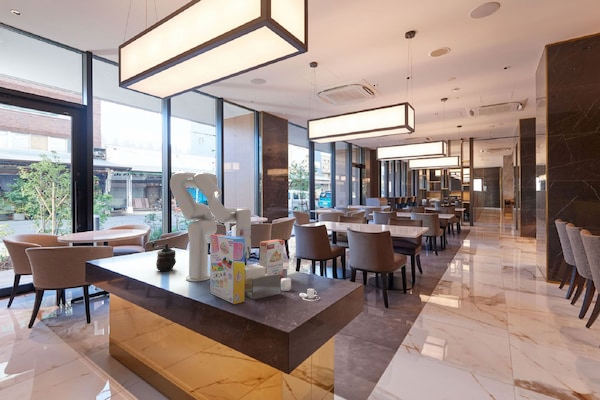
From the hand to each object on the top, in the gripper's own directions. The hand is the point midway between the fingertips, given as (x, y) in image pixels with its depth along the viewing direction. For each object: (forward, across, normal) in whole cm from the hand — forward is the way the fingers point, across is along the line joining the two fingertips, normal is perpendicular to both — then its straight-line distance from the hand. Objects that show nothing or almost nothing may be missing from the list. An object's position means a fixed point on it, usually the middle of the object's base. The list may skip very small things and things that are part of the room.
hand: (243, 268), depth 152 cm
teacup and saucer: (+9, +34, +16) cm, 38 cm away
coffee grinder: (+8, -52, -26) cm, 59 cm away
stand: (+8, +14, 0) cm, 16 cm away
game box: (+8, +15, -15) cm, 23 cm away
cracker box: (+8, -1, +18) cm, 20 cm away
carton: (+2, +9, 0) cm, 9 cm away
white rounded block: (+8, +20, +13) cm, 25 cm away
